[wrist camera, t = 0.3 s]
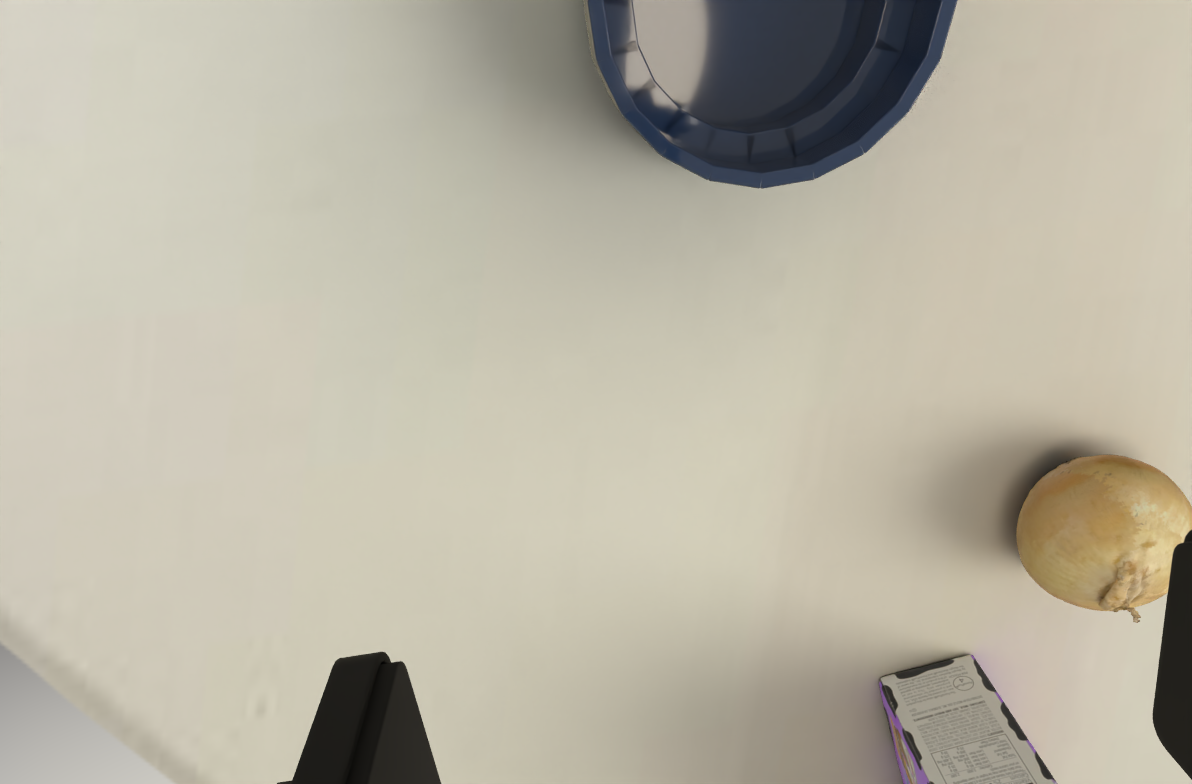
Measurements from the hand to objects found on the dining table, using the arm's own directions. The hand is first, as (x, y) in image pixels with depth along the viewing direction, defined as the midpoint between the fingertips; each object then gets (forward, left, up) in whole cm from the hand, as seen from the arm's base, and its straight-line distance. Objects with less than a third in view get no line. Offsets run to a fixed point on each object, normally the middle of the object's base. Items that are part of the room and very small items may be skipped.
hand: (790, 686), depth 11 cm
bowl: (-8, +6, -31) cm, 32 cm away
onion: (+19, +21, -31) cm, 42 cm away
